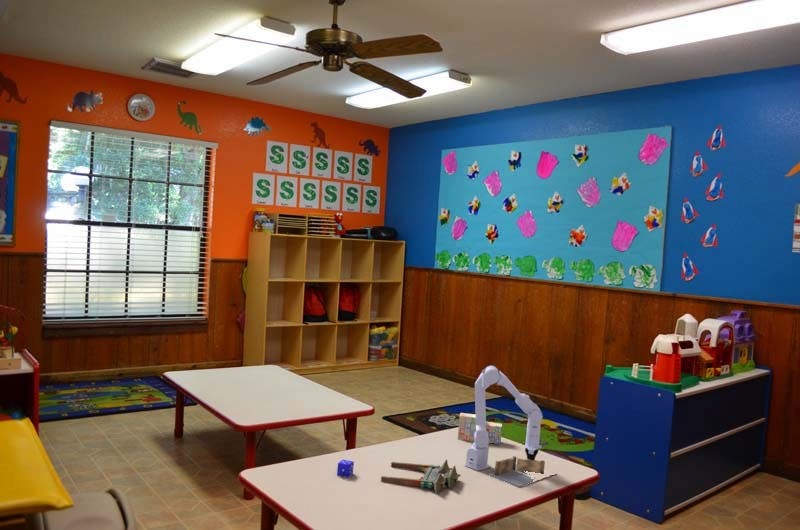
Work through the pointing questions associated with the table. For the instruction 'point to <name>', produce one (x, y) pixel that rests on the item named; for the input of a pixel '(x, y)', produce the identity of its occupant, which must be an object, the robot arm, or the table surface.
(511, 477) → the board
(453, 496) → the table surface
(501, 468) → the walnut fence section
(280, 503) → the table surface
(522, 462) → the oak fence section
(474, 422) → the stack of blocks
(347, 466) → the die
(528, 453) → the robot arm
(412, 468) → the miniature gate
